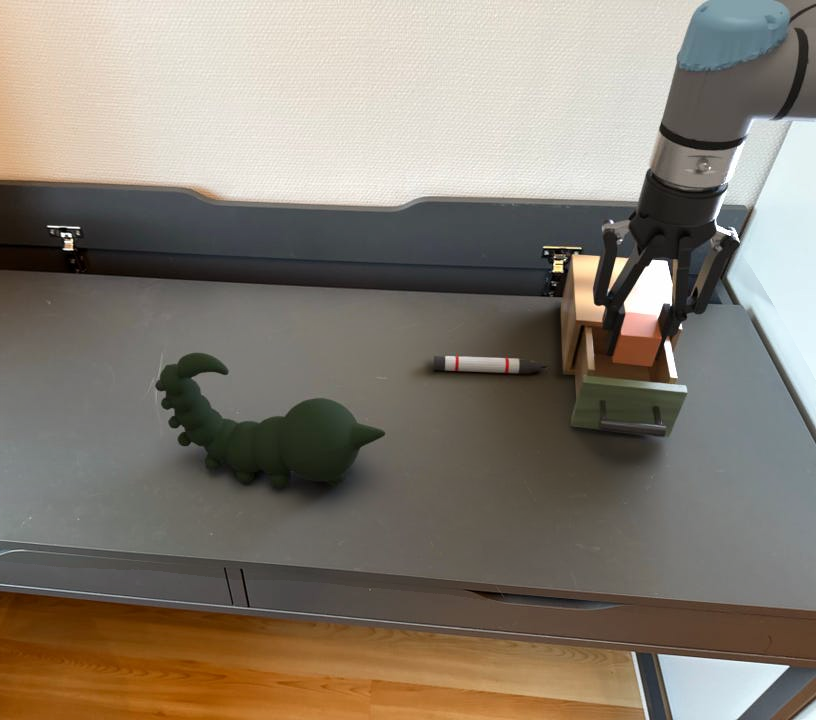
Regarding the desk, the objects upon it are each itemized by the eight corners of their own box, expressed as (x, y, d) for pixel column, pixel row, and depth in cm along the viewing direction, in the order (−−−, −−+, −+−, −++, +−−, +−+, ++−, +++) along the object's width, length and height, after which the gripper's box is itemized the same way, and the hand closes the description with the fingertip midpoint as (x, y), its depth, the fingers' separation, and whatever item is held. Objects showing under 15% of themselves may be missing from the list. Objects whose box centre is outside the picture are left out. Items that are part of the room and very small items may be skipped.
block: (647, 342, 86) (657, 314, 83) (651, 366, 83) (661, 338, 80) (610, 338, 87) (618, 310, 84) (612, 362, 84) (621, 334, 81)
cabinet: (661, 384, 93) (682, 329, 86) (562, 374, 95) (575, 319, 89) (649, 314, 103) (667, 260, 97) (560, 307, 106) (571, 253, 99)
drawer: (673, 465, 82) (693, 420, 77) (572, 453, 84) (585, 408, 79) (655, 362, 95) (671, 317, 89) (567, 353, 97) (578, 309, 91)
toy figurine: (183, 494, 86) (385, 513, 80) (132, 384, 73) (367, 396, 67) (209, 436, 92) (397, 449, 86) (166, 326, 80) (382, 332, 74)
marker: (433, 373, 97) (434, 362, 95) (433, 363, 98) (434, 352, 97) (547, 377, 95) (550, 366, 94) (546, 367, 96) (548, 356, 95)
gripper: (597, 188, 67) (556, 364, 83) (796, 199, 64) (714, 380, 80) (592, 151, 73) (555, 323, 89) (776, 160, 70) (703, 337, 86)
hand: (631, 350), depth 84 cm, fingers closed on block, 4 cm apart
